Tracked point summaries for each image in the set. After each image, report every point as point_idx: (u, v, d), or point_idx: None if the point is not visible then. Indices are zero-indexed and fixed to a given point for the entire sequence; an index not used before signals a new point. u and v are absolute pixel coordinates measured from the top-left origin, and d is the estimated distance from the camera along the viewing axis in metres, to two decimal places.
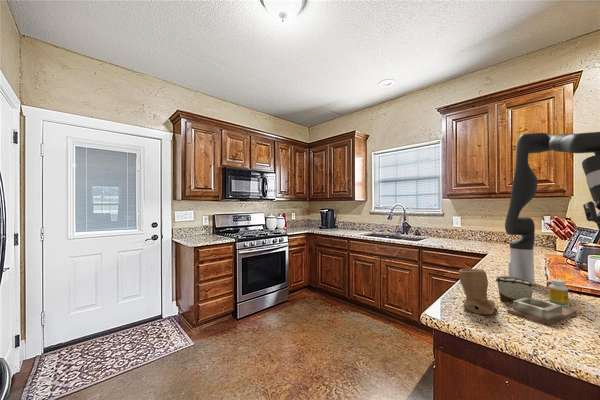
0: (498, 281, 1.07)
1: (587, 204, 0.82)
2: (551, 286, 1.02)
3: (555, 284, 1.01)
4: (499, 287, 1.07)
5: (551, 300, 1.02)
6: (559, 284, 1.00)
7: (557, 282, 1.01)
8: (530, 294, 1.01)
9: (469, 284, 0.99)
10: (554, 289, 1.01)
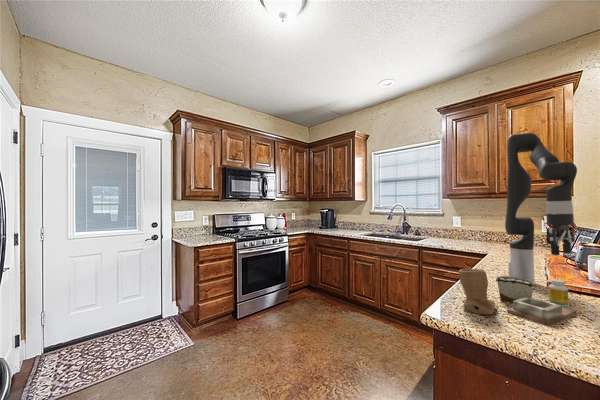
0: (498, 281, 1.07)
1: (552, 230, 0.98)
2: (551, 286, 1.02)
3: (555, 284, 1.01)
4: (499, 287, 1.07)
5: (551, 300, 1.02)
6: (559, 284, 1.00)
7: (557, 282, 1.01)
8: (530, 294, 1.01)
9: (469, 284, 0.99)
10: (554, 289, 1.01)
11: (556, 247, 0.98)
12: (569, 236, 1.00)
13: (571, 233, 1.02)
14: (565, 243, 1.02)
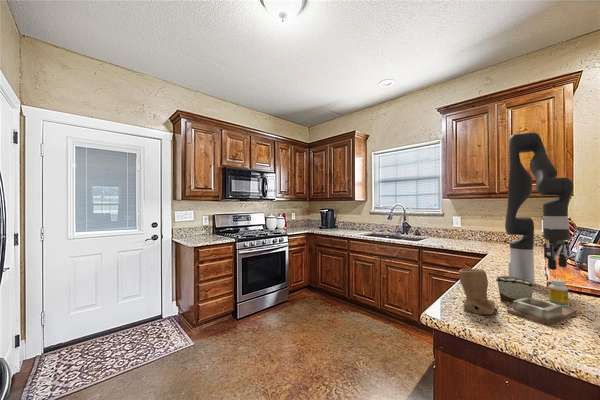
0: (498, 281, 1.07)
1: (549, 245, 0.99)
2: (551, 286, 1.02)
3: (555, 284, 1.01)
4: (499, 287, 1.07)
5: (551, 300, 1.02)
6: (559, 284, 1.00)
7: (557, 282, 1.01)
8: (530, 294, 1.01)
9: (469, 284, 0.99)
10: (554, 289, 1.01)
11: (553, 262, 0.99)
12: (565, 250, 1.02)
13: (566, 247, 1.04)
14: (561, 257, 1.04)
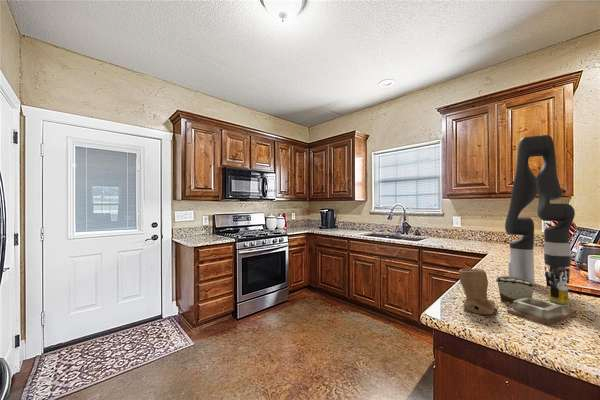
0: (498, 281, 1.07)
1: (550, 274, 0.99)
2: None
3: None
4: (499, 287, 1.07)
5: (551, 300, 1.02)
6: (559, 283, 1.00)
7: None
8: (531, 294, 1.00)
9: (469, 284, 0.99)
10: None
11: (556, 290, 1.00)
12: (565, 277, 1.01)
13: (567, 274, 1.03)
14: None
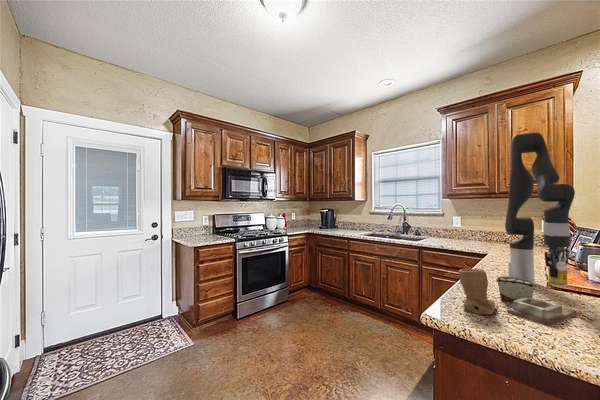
0: (499, 281, 1.07)
1: (550, 255, 0.99)
2: None
3: None
4: (500, 287, 1.07)
5: (550, 280, 1.03)
6: (558, 264, 1.01)
7: None
8: (531, 294, 1.00)
9: (469, 284, 0.99)
10: None
11: (555, 270, 1.00)
12: (564, 257, 1.02)
13: (566, 255, 1.04)
14: None
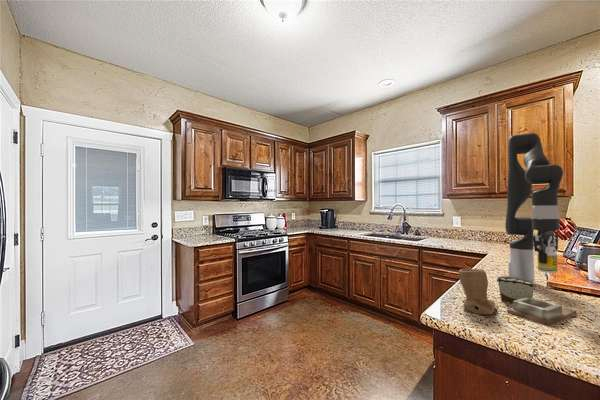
0: (499, 281, 1.07)
1: (538, 238, 0.94)
2: None
3: None
4: (500, 287, 1.07)
5: (539, 267, 0.97)
6: (548, 249, 0.95)
7: None
8: (531, 294, 1.00)
9: (469, 284, 0.99)
10: None
11: (544, 255, 0.94)
12: (554, 242, 0.96)
13: (555, 240, 0.98)
14: None
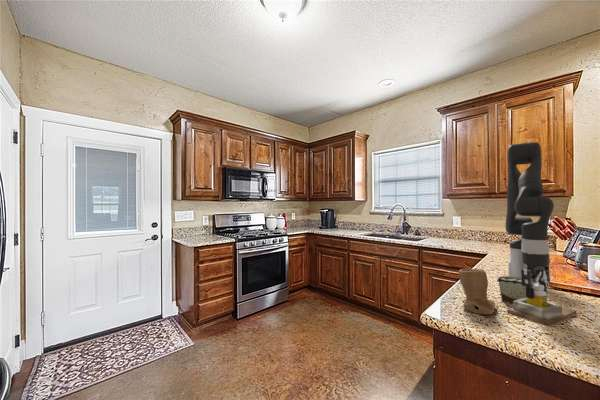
0: (499, 281, 1.07)
1: (527, 272, 0.90)
2: None
3: None
4: (500, 287, 1.07)
5: None
6: (538, 288, 0.92)
7: (535, 287, 0.92)
8: None
9: (469, 284, 0.99)
10: None
11: (531, 290, 0.91)
12: (545, 277, 0.93)
13: (547, 272, 0.95)
14: (540, 283, 0.95)
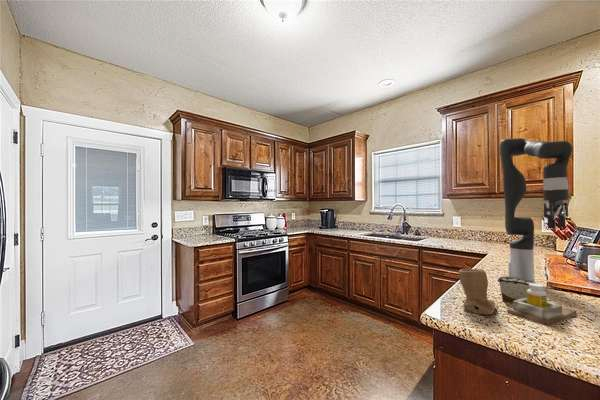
0: (500, 281, 1.07)
1: (549, 205, 1.04)
2: (529, 291, 0.94)
3: (533, 289, 0.93)
4: (501, 287, 1.07)
5: None
6: (537, 288, 0.92)
7: (534, 287, 0.92)
8: None
9: (469, 284, 0.99)
10: (532, 294, 0.92)
11: (552, 221, 1.04)
12: (564, 211, 1.06)
13: (565, 208, 1.09)
14: (560, 218, 1.09)
